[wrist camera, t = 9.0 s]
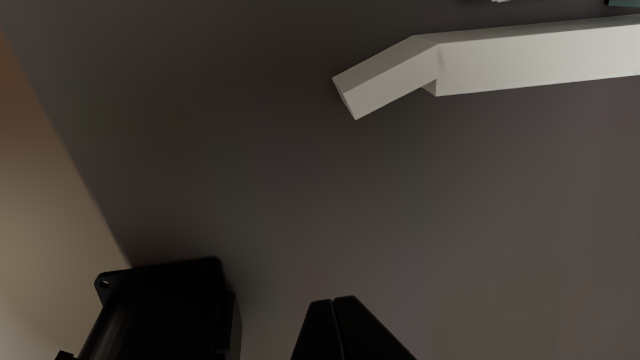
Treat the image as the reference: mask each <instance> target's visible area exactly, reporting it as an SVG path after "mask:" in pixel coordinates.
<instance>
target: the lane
mask: <svg viewBox="0 0 640 360" xmlns="http://www.w3.org/2000/svg"><path fill="white" fill-rule="evenodd" d="M632 75H640V14H631V15H620V16H609V17H599V18H588V19H578V20H567V21H557V22H546V23H536V24H525V25H515V26H504V27H494V28H483V29H473V30H462V31H451V32H441V33H430V34H420V35H412V36H410V37H408V38H406V39H405V40H403V41H401V42H399V43H397V44H395V45H393V46H391V47H389V48H387V49H386V50H384V51H382V52H380V53H378V54H376V55H374V56H372V57H370V58H368V59H367V60H365V61H363V62H361V63H359V64H357V65H355V66H353V67H351V68H349V69H348V70H346V71H344V72H342V73H340V74H338V75H336V76H334V77H332V80H333V82H334V84H335V86H336V88H337V90H338V92H339V94H340V96H341V99H342V101H343V102H344V104H345V105H346V107H347V108H348V110H349V111H350V113H351V114H352V116H353V117H354V119H355V120H357V119H359V118H361V117H363V116H365V115H367V114H369V113H371V112H373V111H375V110H376V109H378V108H380V107H382V106H384V105H386V104H388V103H390V102H392V101H394V100H396V99H398V98H400V97H402V96H404V95H406V94H408V93H410V92H412V91H414V90H416V89H418V88H419V87H422V88H423V89H425V90H427V91H428V92H430V93H431V94H433V95H434V96H445V95H454V94H464V93H473V92H482V91H492V90H501V89H511V88H520V87H529V86H539V85H548V84H557V83H567V82H576V81H585V80H595V79H604V78H613V77H623V76H632Z"/></svg>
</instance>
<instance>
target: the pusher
mask: <svg viewBox="0 0 640 360" xmlns="http://www.w3.org/2000/svg"><path fill="white" fill-rule="evenodd" d="M608 6H621V7H639V8H640V0H609V4H608Z"/></svg>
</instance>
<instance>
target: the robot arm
mask: <svg viewBox="0 0 640 360" xmlns="http://www.w3.org/2000/svg"><path fill="white" fill-rule="evenodd" d="M211 266H212V267H215V268H216V269H214V270H213V269H210V268H209V267H211ZM103 281H107V282H108V283H109V284H106V283H104V282H103ZM94 285H95V288H96V291H97V293H98V296H99V298H100V300H101V303H102V305H103V308H102V310H101V312H100V314H99V316H98V318H97V320H96V322H95V324H94V326H93V328H92V330H91V332H90V334H89V336H88V338H87V340H86V342H85V344H84V346H83V348H82V349H81V351H80V353H79V355H78V357H77V358H75V357H73V355H74V354H71V353H68V352H64V351H61V350H60V351H59V353H58V355H57V357H56V358H55V360H240V351H241V338H242V322H241V317H240V312H239V308H238V303H237V299H236V294H235V293H234V292H232V291H228V287H227V283H226V278H225V274H224V269H223V265H222V263H221V261H220V260H218V259H216V258H208V259H201V260H193V261H185V262H178V263H170V264H163V265H155V266H147V267H140V268H132V269H125V270H117V271H110V272H103V273H100V274H99V275H98V277H97V278H96V280H95V282H94ZM290 360H417V359H416V358H415V357H414V356H413V355H412V354H411V353H410V352H409V351H408V350H407V349H406V348H405V347H404V346H403V345H402V344H401V343H400V342H399V341H398V340H397V339H396V338H395V337H394V336H393V334H392V333H391V332H390V331H389V330H388V329H387V328H386V327H385V326H384V325H383V324H382V323H381V322H380V321H379V320H378V319H377V318H376V317H375V316H374V315H373V314H372V313H371V312H370V311H369V310H368V309H367V308H366V307H365V306H364V305H363V304H362V303H361V302H360V301H359V300H358V299H357V298H356V297H355V296H353V295H350V296H344V297H337V298H335V299H334V300H333V301H332V300H331V299H324V300H318V301H313V302H311V303H310V305H309V308H308V311H307V314H306V316H305V319H304V322H303V325H302V328H301V331H300V334H299V336H298V339H297V342H296V345H295V348H294V351H293V354H292V357H291V359H290Z"/></svg>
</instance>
